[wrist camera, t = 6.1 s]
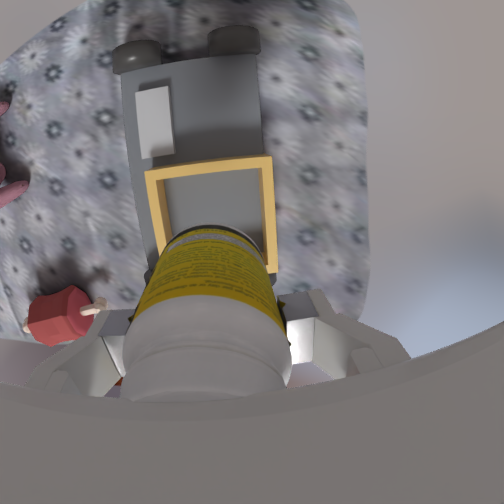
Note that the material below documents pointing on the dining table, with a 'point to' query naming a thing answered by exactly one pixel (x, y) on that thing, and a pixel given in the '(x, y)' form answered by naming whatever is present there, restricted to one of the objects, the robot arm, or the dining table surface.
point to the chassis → (198, 141)
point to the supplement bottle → (206, 323)
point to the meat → (62, 316)
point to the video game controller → (12, 190)
